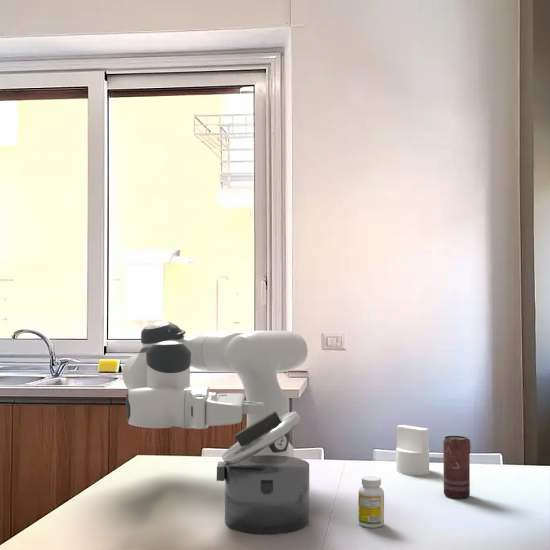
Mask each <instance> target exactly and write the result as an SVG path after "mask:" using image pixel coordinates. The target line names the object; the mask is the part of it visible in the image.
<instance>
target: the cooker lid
mask: <svg viewBox="0 0 550 550" xmlns="http://www.w3.org/2000/svg"><path fill="white" fill-rule="evenodd" d="M300 421H301V417H300V415H299V413H298V412H297V411H291V412H290V411H289V413H287V414H284V415H282V416H280V417H279V415H278V414H277V412H276V411H274V412H272V413H271V414H269V415H267V416H265V417H264V418H262V419H260V420H259V421H257V422H255V423H254V424H252V425H250V426H249V427H247V428H245V429H242V430H239V431H238V432H237V433H235V436H234V437H235V438H236V440H237V441H236V442H235V443H234V444H232V445H231V446H230V447H229V448H228V449H227V450H225V452H223V454H222V456H221V459H222V462H225V464H226V465H231V464H234V463H237V462H240V461H242V460H244V459H246V458H248V457H250V456H252V455H254V454H256V453H258V452H259V451H261V450H263V449H265V448H266V447H268V446H269V445H271V444H272V443H274V442H275V441H277V440H278V439H280V438H281V437H283V436H284V435H285V434H287V433H288V432H289V431H290V430H291V431H292V430H293V429H294V428H295V427H297V425H298V424H299V423H300Z"/></svg>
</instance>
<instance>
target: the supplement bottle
mask: <svg viewBox="0 0 550 550" xmlns="http://www.w3.org/2000/svg"><path fill="white" fill-rule="evenodd" d="M381 481H382V478H381V477H379V476H376V475H375V476H373V475H366V476H362V477H361V485H362V486H361V487H359V489H358V493H357V494H358V498H357V499H358V501H357V502H358V511H357V512H358V524H359V525H360V526H361V527H363V528H368V529H376V528H381V527H383V526H384V523H385V491H384V490H383V489H384V488H382V487H380V486H382V482H381Z"/></svg>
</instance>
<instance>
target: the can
mask: <svg viewBox="0 0 550 550" xmlns="http://www.w3.org/2000/svg"><path fill="white" fill-rule="evenodd" d="M442 443H443V445H442V446H443V448H442V450H443V453H442V454H443V455H442V457H443V458H442V459H443V494H444V496H445V497H447V498H449V499H454V500H465V499H468V498H469V496H470V495H471V486H470V485H471V483H470V481H471V478H470V477H471V475H470V474H471V473H470V470H471V469H470V463H471V461H470V457H471V456H470V455H471V448H472V446H471V439H470V438H468V437H466V436H464V435H463V436H462V435H447V436H445V437H444V439H443V441H442Z"/></svg>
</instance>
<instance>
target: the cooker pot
mask: <svg viewBox="0 0 550 550" xmlns="http://www.w3.org/2000/svg"><path fill="white" fill-rule="evenodd" d="M216 465H217V466H216V482H224V487H225V488H224V523H225V525H226V526H227V527H228V528H230V529H232V530H234V531H237V532H240V533H244V534H245V533H246V534H250V533H251V534H252V535H264V534H270V535H280V534H279V533H284V534H288V532H290V533H293V531H294V532H297V530H298V531H299V530H303V529H305V528H306V527H308V526H309V524H310V463H309V462H308V461H306V460H304V459H302V458H298V457H295V456H294V457H288V456H276V455H258V456H250V457H248V458H246V459H244V460H242V461H240V462H237V463H234V464H231V465H226V464H225V462H224V461H218V463H217V464H216ZM304 527H305V528H304ZM302 528H303V529H302Z"/></svg>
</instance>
